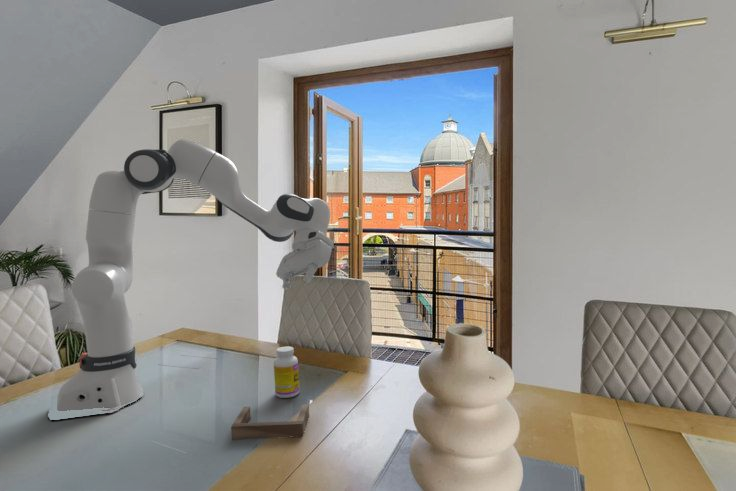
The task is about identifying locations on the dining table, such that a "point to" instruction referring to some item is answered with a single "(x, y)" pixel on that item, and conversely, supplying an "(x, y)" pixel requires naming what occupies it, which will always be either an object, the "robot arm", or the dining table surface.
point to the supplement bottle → (286, 373)
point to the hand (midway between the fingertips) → (296, 284)
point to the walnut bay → (268, 426)
